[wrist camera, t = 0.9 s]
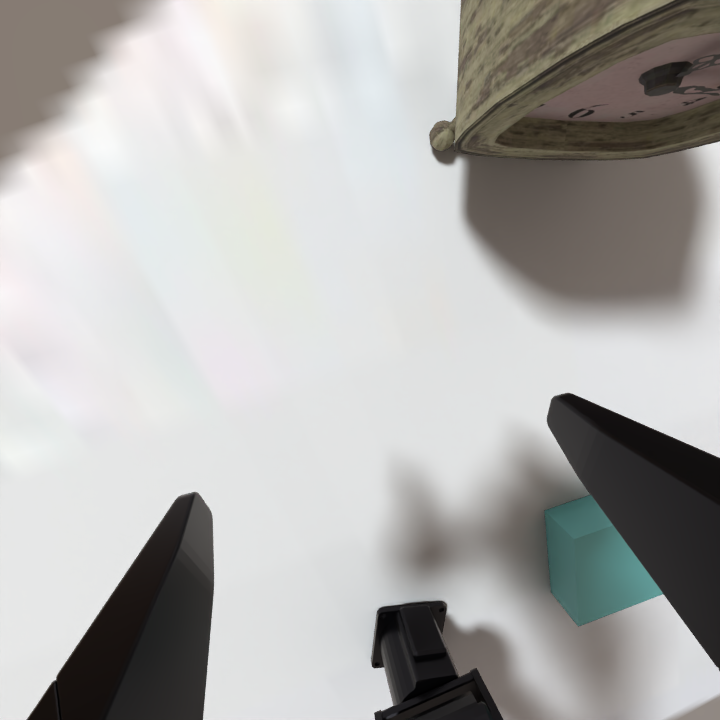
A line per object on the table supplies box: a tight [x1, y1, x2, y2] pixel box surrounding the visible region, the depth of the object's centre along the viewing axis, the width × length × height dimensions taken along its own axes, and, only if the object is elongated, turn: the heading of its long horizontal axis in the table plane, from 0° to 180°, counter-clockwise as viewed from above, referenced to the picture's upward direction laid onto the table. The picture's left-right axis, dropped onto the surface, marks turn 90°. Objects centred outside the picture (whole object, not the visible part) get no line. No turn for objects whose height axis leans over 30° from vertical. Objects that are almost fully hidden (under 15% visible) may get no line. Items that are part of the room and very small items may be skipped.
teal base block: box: [545, 495, 663, 627], centre depth 34 cm, size 10×10×4 cm
